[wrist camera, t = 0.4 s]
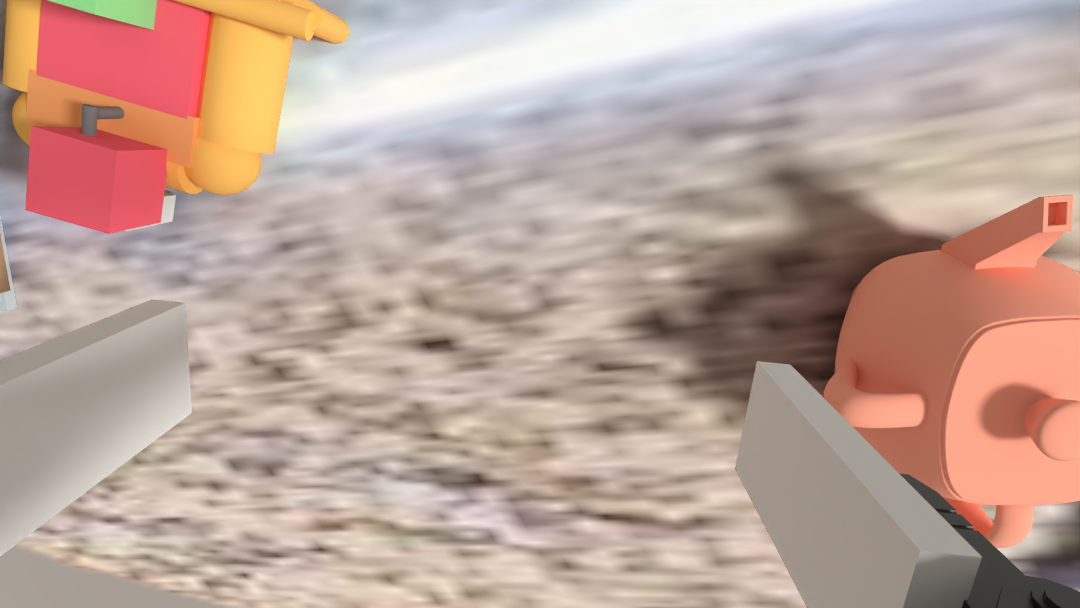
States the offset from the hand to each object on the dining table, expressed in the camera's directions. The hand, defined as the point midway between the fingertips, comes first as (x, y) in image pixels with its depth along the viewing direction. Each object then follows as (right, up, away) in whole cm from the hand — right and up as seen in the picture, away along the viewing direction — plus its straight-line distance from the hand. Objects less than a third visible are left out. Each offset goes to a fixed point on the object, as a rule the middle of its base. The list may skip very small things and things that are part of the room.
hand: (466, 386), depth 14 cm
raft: (-21, +22, +24) cm, 39 cm away
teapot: (+28, 0, +28) cm, 40 cm away
